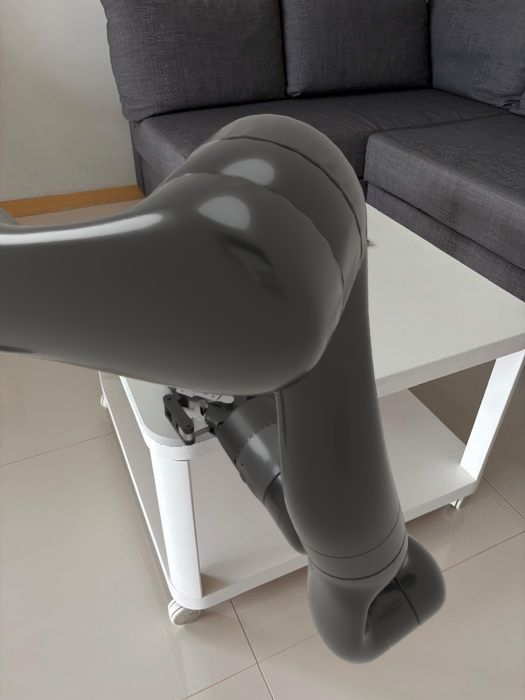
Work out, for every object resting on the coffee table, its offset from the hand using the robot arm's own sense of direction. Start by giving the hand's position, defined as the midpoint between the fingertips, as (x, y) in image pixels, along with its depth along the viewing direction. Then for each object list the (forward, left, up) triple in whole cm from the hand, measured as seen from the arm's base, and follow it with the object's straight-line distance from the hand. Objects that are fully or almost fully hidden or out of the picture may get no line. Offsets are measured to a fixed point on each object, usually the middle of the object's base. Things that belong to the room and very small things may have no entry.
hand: (205, 362), depth 65 cm
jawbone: (+31, +45, -6) cm, 55 cm away
